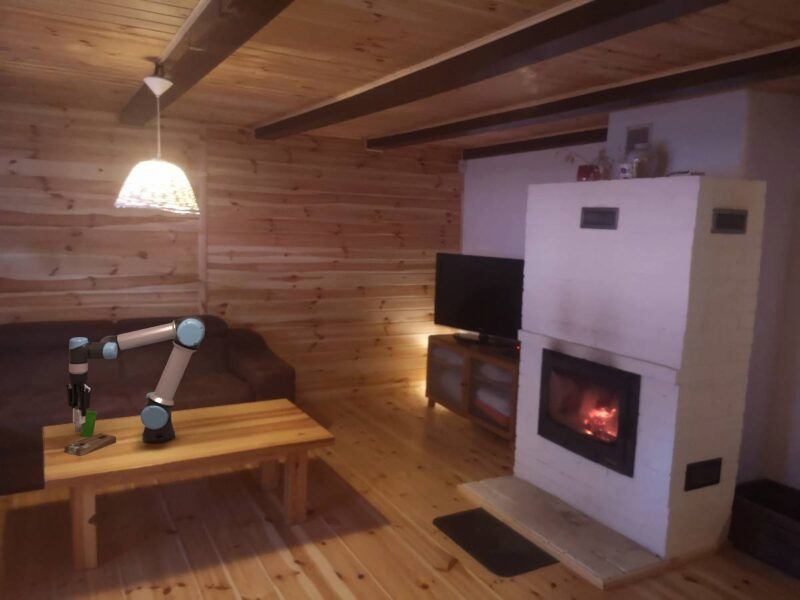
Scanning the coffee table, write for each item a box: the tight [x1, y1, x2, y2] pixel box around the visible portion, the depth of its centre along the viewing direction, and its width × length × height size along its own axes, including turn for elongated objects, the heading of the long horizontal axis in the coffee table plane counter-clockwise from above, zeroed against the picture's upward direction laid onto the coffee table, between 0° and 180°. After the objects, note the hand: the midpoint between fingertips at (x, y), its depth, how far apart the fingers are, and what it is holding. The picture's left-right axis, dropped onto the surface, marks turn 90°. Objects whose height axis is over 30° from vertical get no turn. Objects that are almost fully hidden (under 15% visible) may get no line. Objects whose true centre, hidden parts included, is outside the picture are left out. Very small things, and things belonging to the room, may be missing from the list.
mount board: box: [63, 432, 117, 457], centre depth 293 cm, size 10×20×3 cm, turn 158°
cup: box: [80, 410, 98, 438], centre depth 308 cm, size 9×9×11 cm
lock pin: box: [74, 403, 83, 433], centre depth 286 cm, size 3×3×12 cm
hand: (79, 422), depth 286 cm, fingers closed on lock pin, 3 cm apart
